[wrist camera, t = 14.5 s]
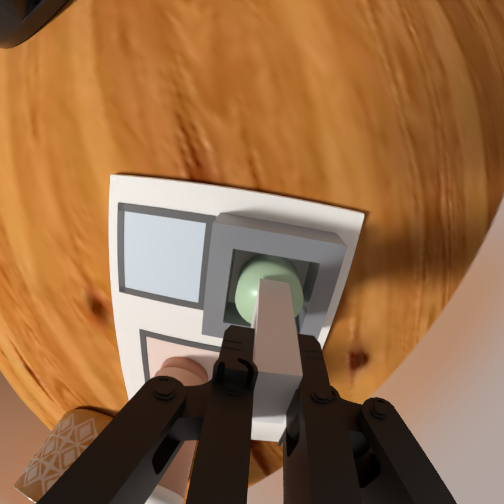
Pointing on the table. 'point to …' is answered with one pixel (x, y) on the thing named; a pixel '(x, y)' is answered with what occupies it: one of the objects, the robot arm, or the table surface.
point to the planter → (60, 451)
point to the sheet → (192, 267)
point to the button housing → (277, 244)
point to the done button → (270, 270)
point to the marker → (176, 477)
